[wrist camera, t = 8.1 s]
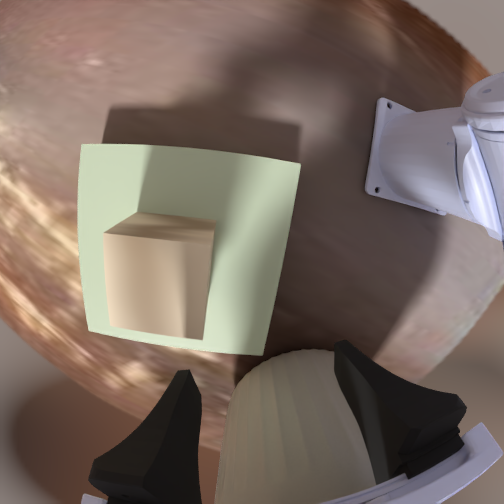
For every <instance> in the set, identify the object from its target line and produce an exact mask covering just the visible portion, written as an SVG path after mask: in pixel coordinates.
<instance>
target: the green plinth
mask: <svg viewBox="0 0 504 504" xmlns="http://www.w3.org/2000/svg"><path fill="white" fill-rule="evenodd" d="M300 168H301V164H299V163H294V162H288V161H283V160H277V159H272V158H266V157H259V156H253V155H246V154H239V153H232V152H224V151H215V150H206V149H197V148H186V147H173V146H158V145H136V144H82V145H81V155H80V166H79V181H78V247H79V262H80V273H81V283H82V291H83V299H84V306H85V312H86V318H87V324H88V329H89V331H92V332H96V333H101V334H105V335H110V336H114V337H119V338H124V339H129V340H134V341H140V342H145V343H151V344H157V345H164V346H170V347H177V348H185V349H192V350H201V351H210V352H220V353H231V354H244V355H260V356H263V351H264V347H265V343H266V338H267V334H268V330H269V325H270V321H271V316H272V312H273V307H274V303H275V298H276V293H277V289H278V284H279V279H280V274H281V269H282V264H283V259H284V254H285V249H286V244H287V239H288V234H289V229H290V224H291V218H292V213H293V207H294V202H295V196H296V191H297V185H298V179H299V174H300ZM136 212H145V213H155V214H165V215H175V216H184V217H194V218H203V219H211V220H216V228H215V237H214V246H213V255H212V265H211V275H210V286H209V296H208V304H207V311H206V319H205V327H204V335H203V340H196V339H187V338H180V337H172V336H165V335H159V334H152V333H146V332H140V331H134V330H129V329H123V328H118V327H113V326H110V321H109V313H108V305H107V296H106V285H105V271H104V252H103V233H104V232H105V231H107V230H108V229H110V228H112V227H113V226H115V225H116V224H118V223H120V222H121V221H123V220H124V219H126V218H128V217H129V216H131V215H133V214H134V213H136Z"/></svg>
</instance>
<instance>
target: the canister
mask: <svg viewBox="0 0 504 504" xmlns="http://www.w3.org/2000/svg"><path fill="white" fill-rule="evenodd" d="M373 486H376V482H375V478H374V474H373V470H372V466H371V462H370V459H369V455H368V452H367V449H366V446H365V442H364V439H363V437H362V434H361V431H360V428H359V425H358V423H357V421H356V419H355V417H354V415H353V413H352V411H351V409H350V407H349V405H348V403H347V401H346V399H345V397H344V395H343V393H342V391H341V389H340V387H339V384H338V381H337V379H336V376H335V373H334V352H333V351H327V350H324V349H322V350H317V349H311V350H305V349H302V350H299V351H291V352H289V353H282V354H281V355H279V356H276V357H271V358H270V359H269V360H267V361H263V362H262V363H261V364H260V365H258V366H256V367H254V368H253V369H252V370H251V371H250V372H248V373H247V374H246V375H245V376H244V377H243V379H242V380H241V381H240V382H239V383H238V384H237V387H236V388H235V390H234V391H233V393H232V396H231V399H230V402H229V405H228V410H227V416H226V422H225V428H224V434H223V441H222V448H221V456H220V463H219V472H218V480H217V488H216V496H215V504H319V503H323V502H327V501H330V500H334V499H338V498H341V497H344V496H347V495H351V494H354V493H357V492H360V491H362V490H365V489H368V488H371V487H373Z"/></svg>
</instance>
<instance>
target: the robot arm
mask: <svg viewBox="0 0 504 504" xmlns="http://www.w3.org/2000/svg"><path fill="white" fill-rule="evenodd" d="M387 103H388V104H389V105H390V108H388V107H387ZM376 187H377V188H378V191H377V192H375V188H376ZM365 192H366V193H367V194H369V195H373V196H377V197H381V198H385V199H388V200H392V201H396V202H400V203H403V204H407V205H410V206H414V207H417V208H420V209H424V210H427V211H430V212H433V213H436V214H440V215H443V216H444V215H446V213H450V214H453V215H456V216H458V217H461V218H464V219H466V220H469V221H472V222H474V223H477V224H480V225H482V226H484V227H485V228H486V229H487V231H488V234H489V236H490V237H493V238H495V239H497V240H499V241H501V242H503V250H504V72H501V73H497V74H494V75H492V76H489V77H487V78H485V79H483V80H481V81H479V82H477V83H476V84H474V85H473V86H472V87H470V88H469V89H468V91H467V92H466V94H465V97H464V100H463V102H462V104H461V107H453V108H444V109H437V110H429V111H423V112H415V111H413V110H411V109H409V108H407V107H404V106H402V105H400V104H398V103H396V102H393V101H391V100H389V99H386V98H379V99H378V101H377V108H376V117H375V125H374V133H373V140H372V147H371V154H370V160H369V166H368V172H367V178H366V183H365ZM334 373H335V376H336V379H337V381H338V384H339V387H340V389H341V391H342V393H343V395H344V397H345V399H346V401H347V403H348V405H349V407H350V409H351V411H352V413H353V415H354V417H355V419H356V421H357V423H358V425H359V428H360V431H361V434H362V437H363V439H364V442H365V446H366V449H367V452H368V455H369V459H370V462H371V466H372V470H373V474H374V478H375V482H376V486H373V487H371V488H368V489H365V490H362V491H360V492H357V493H354V494H351V495H347V496H344V497H341V498H338V499H334V500H330V501H327V502H323V503H319V504H440V503H442V502H443V501H445V500H446V499H448V498H449V497H451V496H453V495H454V494H455V493H457V492H458V491H460V490H461V489H463V488H464V487H465V486H467V485H468V484H470V483H471V482H472V481H474V480H475V479H476V478H478V477H479V476H480V475H481V474H483V473H484V472H485V471H486V470H487V469H488V468H489V467H490V466H491V465H492V464H493V463H495V462H496V461H497V460H498V459H499V458H500V457H501V456H502V455H503V451H502V450H501V448H500V447H499V445H498V444H497V442H496V441H495V440H494V438H493V437H492V435H491V434H490V433H489V431H488V430H487V429H486V427H485V426H484V424H483V423H482V422H481V423H479V424H478V425H476V426H475V427H474V428H472V429H471V430H469V431H468V432H467V433H465V434H464V435H463V436H462V437H460V436H459V434H458V433H460V430H459V428H458V427H457V426H458V424H459V423H460V421H461V419H462V418H463V416H464V414H465V413H466V409H467V407H466V406H465V404H464V403H463V401H462V400H461V399H460V398H459V397H458V396H457V395H456V394H451V393H445V392H440V391H435V390H432V389H428V388H425V387H422V386H419V385H416V384H414V383H411V382H409V381H406V380H404V379H402V378H400V377H398V376H396V375H394V374H393V373H391V372H389V371H388V370H386V369H384V368H383V367H381V366H380V365H378V364H377V363H375V362H374V361H373V360H371V359H370V358H368V357H367V356H366V355H364V354H363V353H362V352H361V351H359V350H358V349H357V348H356V347H354V346H353V345H352V344H351V343H350V342H348V341H347V340H343V341H339V342H336V343H334ZM201 415H202V403H201V394H200V392H199V390H198V387H197V385H196V383H195V381H194V379H193V376H192V374H191V372H190V370H180V371H177V373H176V374H175V376H174V378H173V379H172V381H171V383H170V384H169V386H168V388H167V389H166V391H165V392H164V394H163V395H162V397H161V398H160V400H159V401H158V403H157V404H156V406H155V407H154V408H153V410H152V411H151V412H150V414H149V415H148V416H147V417H146V419H145V420H144V421H143V422H142V423H141V424H140V426H139V427H138V428H137V429H136V430H134V431H133V432H132V433H131V434H130V435H129V436H128V437H127V438H126V439H125V440H123V441H122V442H121V443H119V444H118V445H117V446H115V447H114V448H113V449H111V450H110V451H108V452H106V453H105V454H103V455H101V456H100V457H98V458H96V459H94V462H93V465H92V468H91V471H90V475H89V479H88V480H89V482H90V483H91V484H92V485H93V486H94V487H95V488H97V489H98V490H100V491H101V492H103V493H104V494H106V495H107V496H109V497H108V501H107V500H104V499H102V498H98V497H94V496H91V495H88V494H83V498H82V502H81V504H202V501H201V493H200V485H199V471H198V444H199V435H200V425H201Z"/></svg>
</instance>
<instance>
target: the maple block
mask: <svg viewBox="0 0 504 504" xmlns="http://www.w3.org/2000/svg"><path fill="white" fill-rule="evenodd" d="M215 228H216V220H211V219H203V218H194V217H184V216H175V215H165V214H155V213H145V212H136V213H134V214H133V215H131V216H129V217H128V218H126V219H124V220H123V221H121V222H120V223H118V224H116V225H115V226H113V227H112V228H110V229H108V230H107V231H105V232H104V233H103V252H104V271H105V285H106V296H107V305H108V313H109V321H110V326H113V327H118V328H123V329H129V330H134V331H140V332H146V333H152V334H159V335H165V336H172V337H180V338H187V339H196V340H203V335H204V327H205V319H206V311H207V304H208V296H209V286H210V275H211V265H212V255H213V246H214V237H215Z"/></svg>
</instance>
